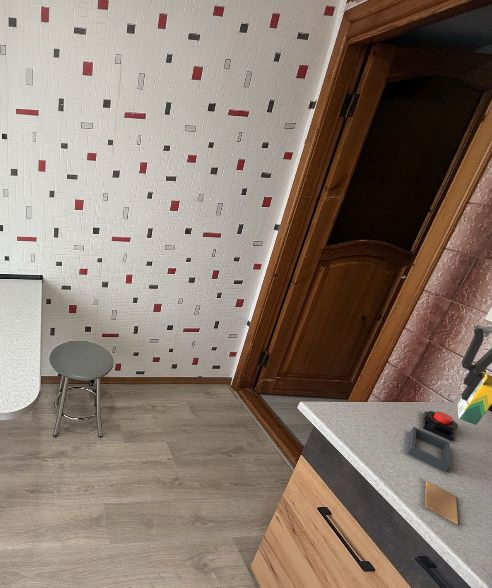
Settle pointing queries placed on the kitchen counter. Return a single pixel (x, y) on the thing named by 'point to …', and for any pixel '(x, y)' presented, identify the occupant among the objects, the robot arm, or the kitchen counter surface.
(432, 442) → the dock
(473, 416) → the crayon box
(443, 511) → the mat
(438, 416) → the release button
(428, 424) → the control block
